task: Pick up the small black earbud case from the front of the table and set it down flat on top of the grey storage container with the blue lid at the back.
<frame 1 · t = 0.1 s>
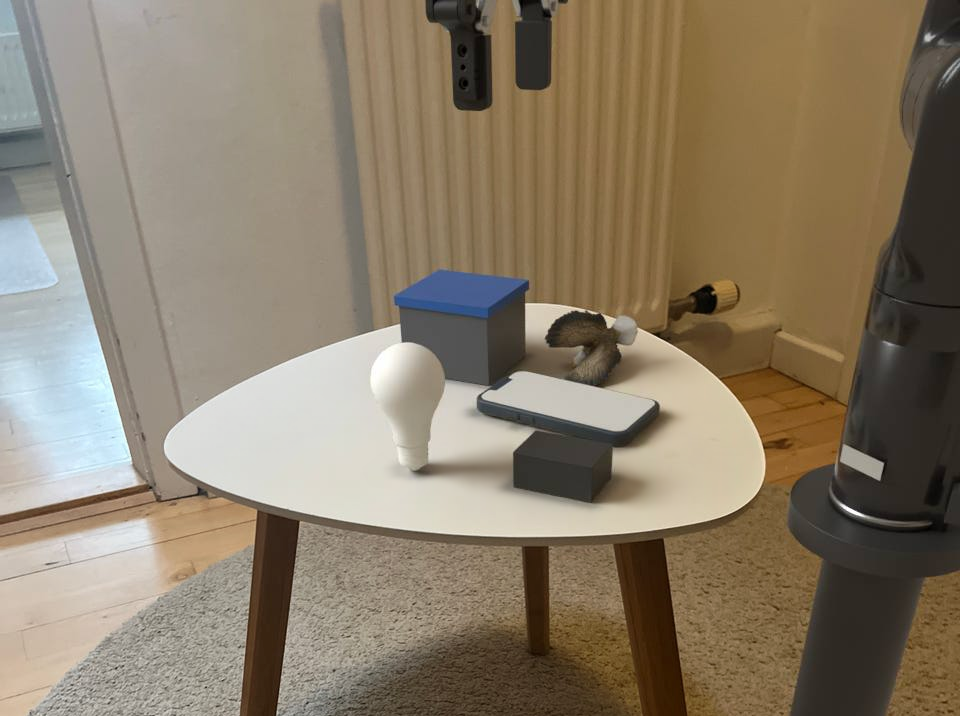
hand: (504, 98, 60), 29 cm above the table, tool pointing down, fingers open, 8 cm apart
case: (562, 483, 82), on the table
container: (465, 363, 105), on the table
smartphone: (566, 416, 93), on the table
lightbulb: (414, 471, 85), on the table
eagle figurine: (589, 373, 102), on the table
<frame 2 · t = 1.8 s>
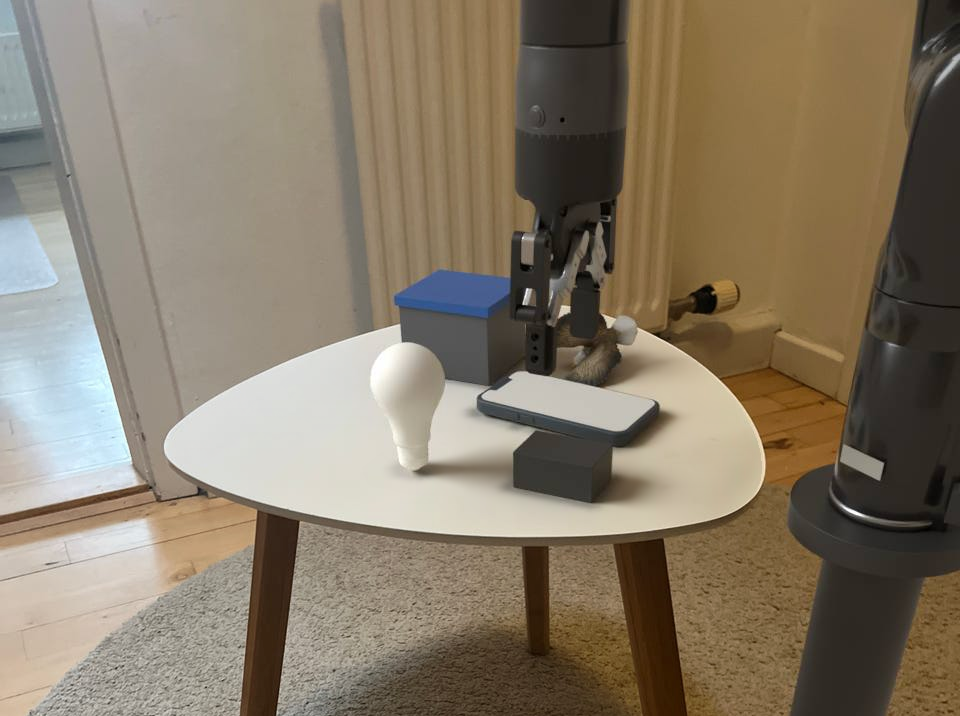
hand: (563, 354, 76), 11 cm above the table, tool pointing down, fingers open, 8 cm apart
nothing on the table moved.
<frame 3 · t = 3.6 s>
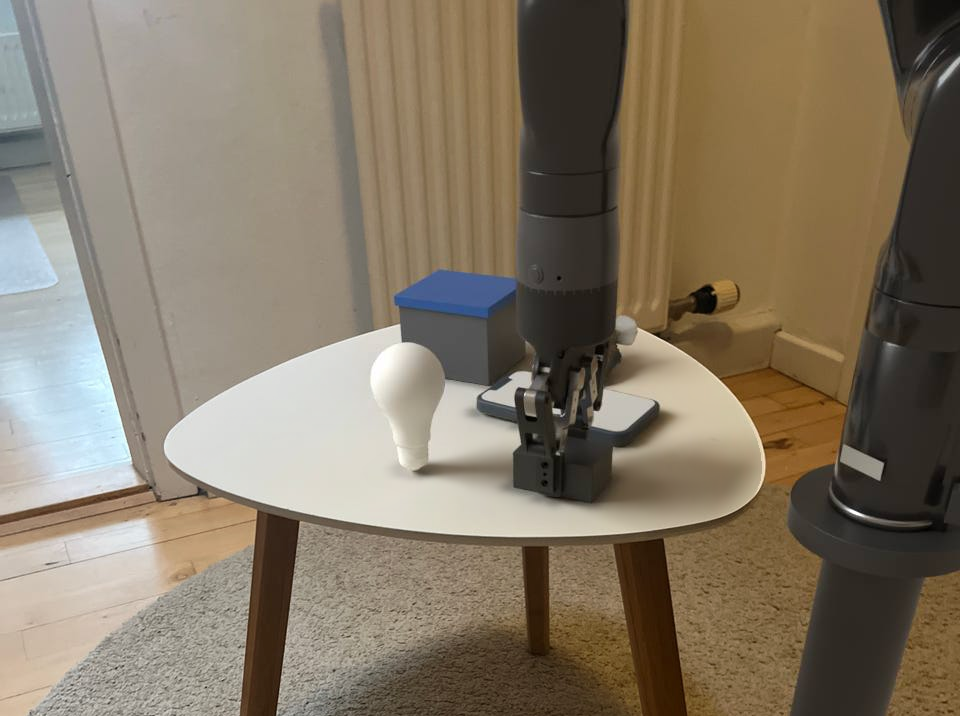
hand: (562, 479, 82), 0 cm above the table, tool pointing down, fingers closed on case, 4 cm apart
case: (562, 483, 82), on the table, touching gripper
everything else where it was.
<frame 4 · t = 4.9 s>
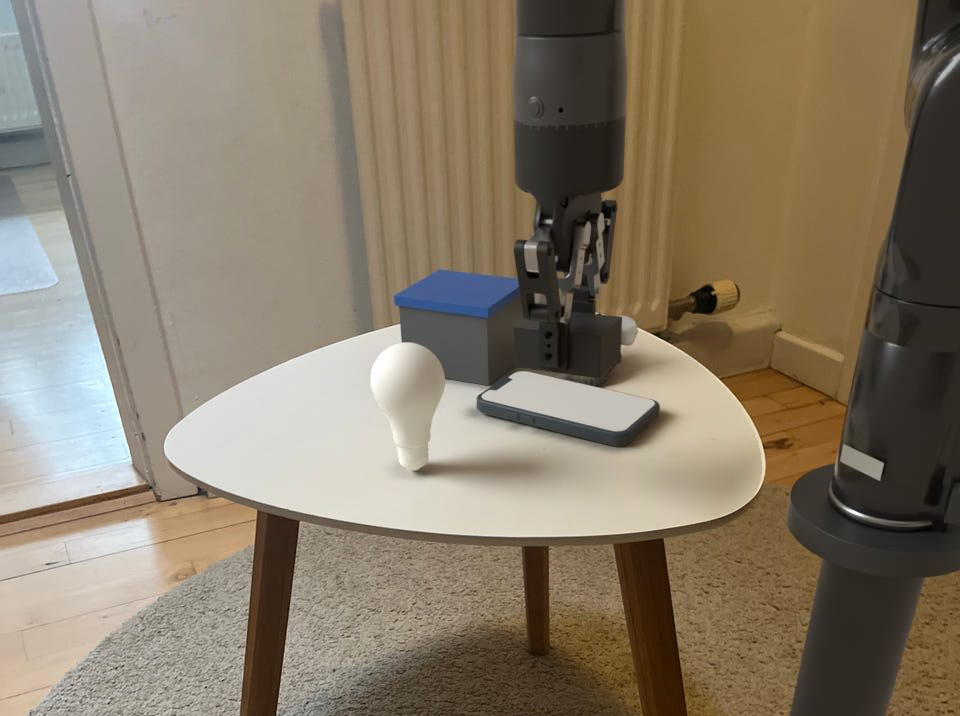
hand: (567, 357, 76), 11 cm above the table, tool pointing down, fingers closed on case, 4 cm apart
case: (567, 362, 76), point 10 cm above the table, touching gripper
everything else where it was.
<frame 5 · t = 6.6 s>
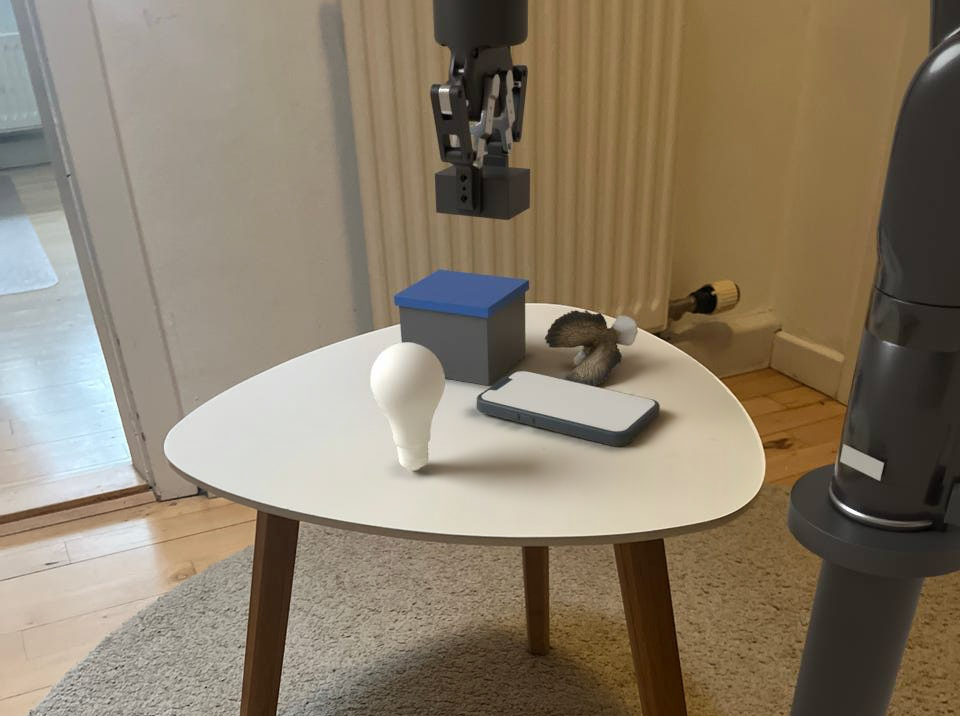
hand: (483, 206, 86), 18 cm above the table, tool pointing down, fingers closed on case, 4 cm apart
case: (483, 210, 86), point 18 cm above the table, touching gripper
everything else where it was.
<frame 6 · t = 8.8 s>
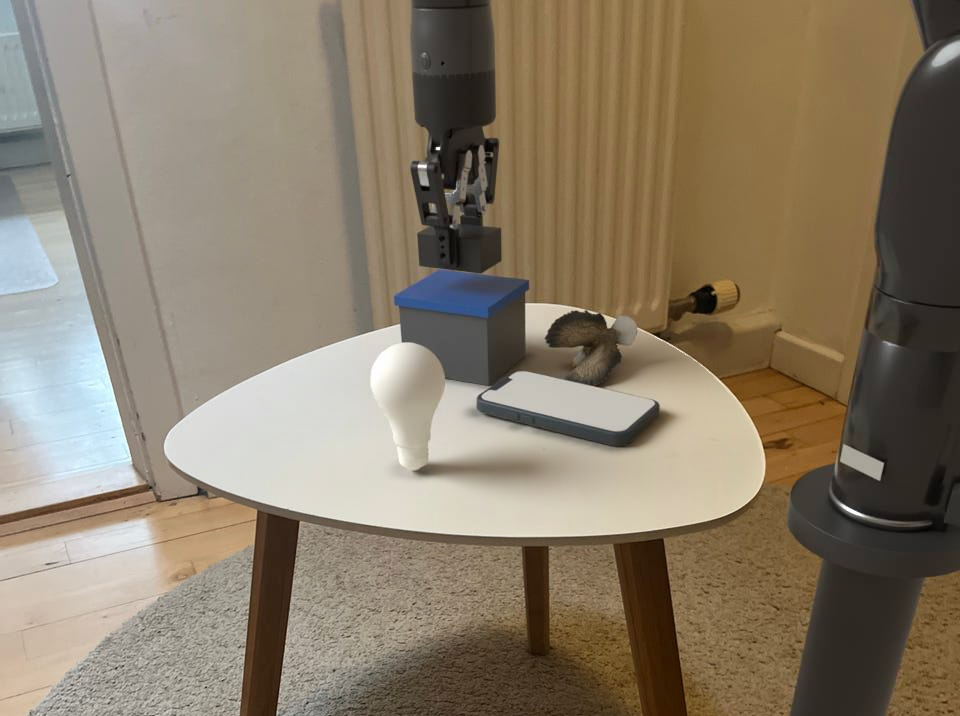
hand: (460, 260, 98), 11 cm above the table, tool pointing down, fingers closed on case, 4 cm apart
case: (460, 263, 99), point 10 cm above the table, touching gripper
everything else where it was.
when the fingers open (8 cm above the table, at t = 9.9 s): case stays where it is, resting on container.
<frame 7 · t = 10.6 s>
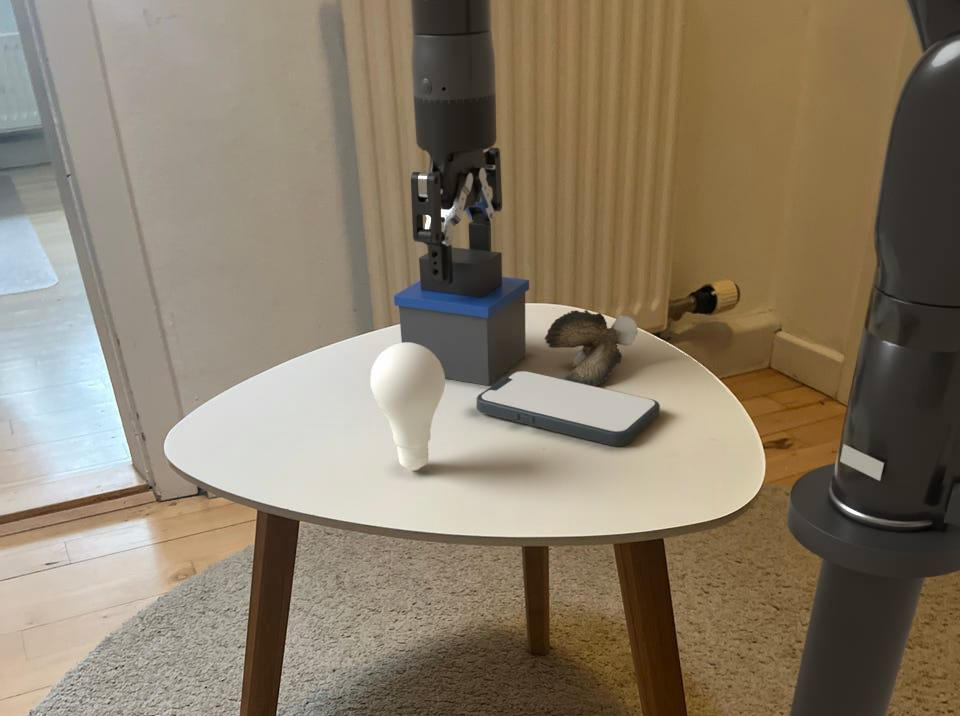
hand: (461, 272, 99), 10 cm above the table, tool pointing down, fingers open, 8 cm apart
case: (461, 287, 100), point 8 cm above the table, touching container
everything else where it was.
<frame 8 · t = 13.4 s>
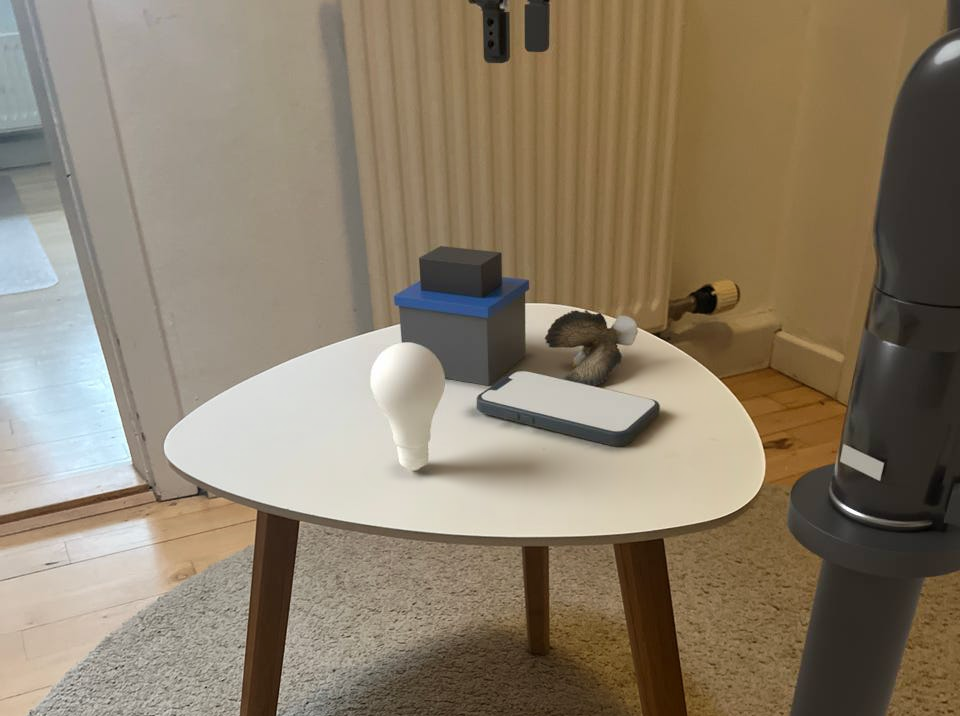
hand: (517, 56, 88), 28 cm above the table, tool pointing down, fingers open, 8 cm apart
nothing on the table moved.
at the end: case inside the target area on the container (0.1 cm from its centre), point 8.0 cm above the container's base; case tilted 0°; the gripper is holding nothing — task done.
